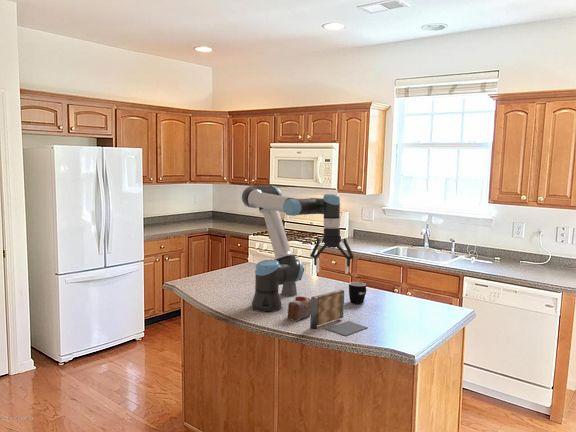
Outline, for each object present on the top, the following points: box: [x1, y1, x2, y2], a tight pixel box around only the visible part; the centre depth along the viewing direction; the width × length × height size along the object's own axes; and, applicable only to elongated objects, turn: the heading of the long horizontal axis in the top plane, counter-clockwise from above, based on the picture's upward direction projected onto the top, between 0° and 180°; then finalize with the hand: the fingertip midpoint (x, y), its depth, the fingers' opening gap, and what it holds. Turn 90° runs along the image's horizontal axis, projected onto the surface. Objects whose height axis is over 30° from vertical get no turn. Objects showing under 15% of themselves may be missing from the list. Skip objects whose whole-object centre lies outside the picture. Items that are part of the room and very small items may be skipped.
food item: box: [287, 296, 311, 322], centre depth 221 cm, size 14×8×10 cm, turn 150°
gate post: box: [309, 295, 318, 330], centre depth 205 cm, size 3×3×14 cm
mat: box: [325, 320, 369, 337], centre depth 206 cm, size 11×16×1 cm
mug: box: [348, 281, 367, 305], centre depth 247 cm, size 12×9×10 cm
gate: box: [316, 289, 345, 326], centre depth 212 cm, size 17×2×13 cm, turn 134°
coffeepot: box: [281, 267, 305, 297], centre depth 259 cm, size 15×9×18 cm, turn 113°
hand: (332, 273), depth 217 cm, fingers open, 13 cm apart
